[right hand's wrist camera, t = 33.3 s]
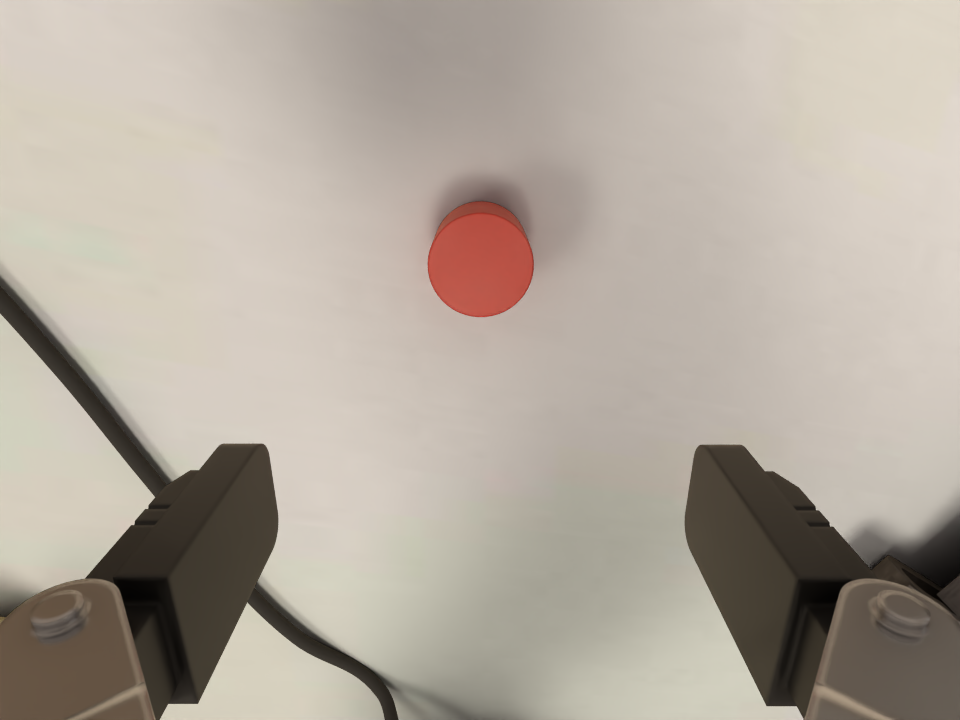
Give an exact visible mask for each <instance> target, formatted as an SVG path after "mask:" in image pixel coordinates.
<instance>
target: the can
mask: <svg viewBox="0 0 960 720" xmlns="http://www.w3.org/2000/svg"><path fill="white" fill-rule="evenodd" d="M533 270H534V260H533V254H532V250H531V247H530V244H529V242H528V239H527V237H526V235H525V232H524V230H523V227H522V226H521V224H520V222H519V221H518V219H517V218H516V217H515V216H514V215H513V214H512V213H511V212H510V211H508V210H507V209H505V208H504V207H502V206H500V205H497V204H495V203H491V202H484V201H477V202H470V203H467V204H464V205H462V206H459V207H458V208H456V209H454V210H453V211H452V212H451V213H449V214H448V215H447V216H446V217H445V219H444V220H443V221H442V223H441V224H440V226H439V228H438V230H437V233H436V235H435V238H434V240H433V243H432V246H431V248H430V252H429V256H428V273H429V278H430V281H431V284H432V286H433V288H434V290H435V292H436V293H437V295H438V296H439V297H440V299H441V300H442V301H443V302H444V303H445V304H446V305H448V306H449V307H450V308H452V309H453V310H455V311H457V312H459V313H462V314H464V315H468V316H474V317H488V316H493V315H497V314H500V313H502V312H504V311H506V310H508V309H510V308H511V307H512V306H514V305H515V304H516V303H517V302H518V301H519V300H520V299H521V298H522V297H523V296H524V294H525V293H526V291H527V289H528V287H529V285H530V283H531V279H532V276H533Z"/></svg>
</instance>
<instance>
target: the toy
mask: <svg viewBox="0 0 960 720" xmlns="http://www.w3.org/2000/svg"><path fill="white" fill-rule="evenodd" d="M871 571H872V572H873V573H874V574H875V575H876V576H877V577H878V579H879V580H885V581H890V582H894V583H897V584H900V585H903V586H906V587H908V588H911V589H913V590H916V591H918V592H920V593H922V594H924V595H925V596H927V597H929V598H930V599H932V600H934V601H935V602H937V603H938V604H939V605H941V606H942V607H944V608H945V609H946V610H947V611H948V612H949V613H950V614H951V615H952V616H953V617H954V618H955V619H956V620H957V621H958V622H959V624H960V575H959V576H958V577H957V578H955V579H954V580H953V581H952V582H951V583H949V584H948V585H947V586H946V587H945V588H944V589H943V588H942V587H940V586H939V585H937V584H935V583H934V582H932V581H930V580H929V579H927V578H926V577H924V576H922V575H921V574H919V573H918V572H916V571H914V570H913V569H911V568H909V567H908V566H906V565H905V564H903V563H901V562H900V561H898V560H897V559H895V558H893V557H891V556H889V555H888V556H886V557H885V558H884V559H883V560H882V561H881V562H880V563H879V564H878V565H876V566H875V567H874V568H873V569H872V570H871Z"/></svg>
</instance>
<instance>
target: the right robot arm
mask: <svg viewBox="0 0 960 720" xmlns="http://www.w3.org/2000/svg"><path fill="white" fill-rule="evenodd" d="M0 314H1V315H2V316H3V317H4V318H5V319H6V320H7V321H8V322H9V323H10V324H11V326H12V327H13V328H14V329H15V330H16V331H17V332H18V333H19V334H20V336H21V337H22V338H23V339H24V340H25V341H26V342H27V343H28V345H29V346H30V347H31V348H32V349H33V350H34V351H35V352H36V354H37V355H38V356H39V357H40V358H41V359H42V360H43V361H44V363H45V364H46V365H47V366H48V367H49V368H50V369H51V371H52V372H53V373H54V374H55V375H56V376H57V377H58V379H59V380H60V381H61V382H62V383H63V384H64V386H65V387H66V388H67V389H68V390H69V392H70V393H71V394H72V395H73V396H74V397H75V399H76V400H77V401H78V402H79V404H80V405H81V406H82V407H83V408H84V410H85V411H86V412H87V413H88V415H89V416H90V417H91V418H92V420H93V421H94V422H95V423H96V425H97V426H98V427H99V428H100V430H101V431H102V432H103V433H104V435H105V436H106V437H107V438H108V440H109V441H110V442H111V443H112V445H113V446H114V447H115V448H116V450H117V451H118V452H119V453H120V455H121V456H122V457H123V458H124V460H125V461H126V462H127V463H128V465H129V466H130V467H131V468H132V469H133V471H134V472H135V473H136V474H137V475H138V477H139V478H140V479H141V480H142V482H143V483H144V484H145V485H146V486H147V488H148V489H149V490H150V491H151V492H152V494H153V495H154V496H155V499H154V500H153V501H152V502H151V503H150V504H149V508H148V509H145V510H144V511H143V512H142V514H141V515H140V516H139V517H138V518H137V519H136V520H135V525H131V526H130V527H129V529H128V530H127V531H126V532H125V533H124V534H123V535H122V537H121V538H120V539H119V540H118V541H117V542H116V544H115V545H114V546H113V547H112V548H111V549H110V550H109V552H108V553H107V554H106V555H105V556H104V557H103V559H102V560H101V561H100V562H99V563H98V564H97V565H96V567H95V568H94V569H93V570H92V571H91V572H90V574H89V575H88V576H87V577H86V578H85V579H81V580H75V581H70V582H66V583H63V584H60V585H57V586H54V587H52V588H49V589H47V590H44V591H42V592H40V593H38V594H36V595H35V596H33V597H31V598H30V599H28V600H26V601H25V602H23V603H22V604H21V605H19V606H18V607H16V608H15V609H14V610H13V611H12V612H11V613H10V614H9V615H8V616H7V617H6V618H5V619H4V620H3V621H2V622H1V624H0V720H160V718H161V716H162V714H163V712H164V710H165V709H166V707H167V705H168V704H198V702H199V700H200V698H201V696H202V694H203V692H204V690H205V688H206V686H207V684H208V682H209V680H210V678H211V676H212V674H213V672H214V670H215V667H216V665H217V663H218V661H219V659H220V657H221V655H222V653H223V651H224V649H225V647H226V645H227V643H228V641H229V639H230V637H231V635H232V632H233V630H234V628H235V626H236V624H237V622H238V620H239V618H240V616H241V614H242V612H243V610H244V608H245V606H246V604H247V602H248V603H249V604H250V605H251V606H252V607H253V608H254V609H255V610H256V611H257V612H258V613H259V614H260V615H261V616H262V617H263V618H264V619H265V620H266V621H267V622H268V623H269V624H270V625H272V626H273V627H274V628H275V629H276V630H277V631H279V632H280V633H281V634H282V635H283V636H284V637H286V638H287V639H288V640H289V641H291V642H292V643H293V644H295V645H296V646H298V647H299V648H300V649H302V650H304V651H305V652H307V653H309V654H311V655H313V656H315V657H317V658H319V659H321V660H323V661H325V662H328V663H330V664H332V665H335V666H337V667H339V668H341V669H343V670H345V671H347V672H349V673H351V674H353V675H354V676H356V677H357V678H359V679H360V680H361V681H362V682H364V683H365V684H366V685H367V686H368V687H369V688H370V689H371V690H372V692H373V693H374V694H375V695H376V697H377V698H378V700H379V701H380V703H381V706H382V709H383V713H384V717H385V720H398V716H397V712H396V708H395V704H394V701H393V698H392V696H391V694H390V692H389V690H388V689H387V687H386V686H385V685H384V683H383V682H382V681H381V680H380V679H379V678H378V677H377V676H376V675H375V674H374V673H373V672H372V671H371V670H369V669H368V668H367V667H365V666H364V665H362V664H361V663H359V662H358V661H356V660H354V659H352V658H350V657H349V656H347V655H345V654H343V653H341V652H339V651H337V650H334V649H332V648H330V647H328V646H326V645H324V644H322V643H320V642H318V641H316V640H314V639H313V638H311V637H309V636H308V635H306V634H305V633H304V632H302V631H301V630H300V629H298V628H297V627H296V626H295V625H293V624H292V623H291V622H290V621H289V620H288V619H286V618H285V617H284V616H283V615H282V614H281V613H280V612H279V611H277V610H276V609H275V608H274V607H273V606H272V605H271V604H270V603H269V602H268V601H267V600H266V599H265V598H264V597H263V596H262V595H261V594H260V593H259V592H258V591H257V590H256V589H255V588H254V587H255V585H256V583H257V581H258V579H259V577H260V575H261V573H262V571H263V569H264V567H265V565H266V563H267V560H268V558H269V556H270V554H271V552H272V550H273V548H274V545H275V542H276V538H277V532H278V510H277V504H276V497H275V490H274V484H273V477H272V470H271V464H270V457H269V452H268V450H267V447H266V446H265V445H264V444H221V445H219V447H218V448H217V449H216V450H215V451H214V452H213V454H212V455H211V456H210V457H209V459H208V460H207V461H206V462H205V464H204V465H203V466H202V467H201V469H200V470H190V471H189V472H187V473H185V474H184V475H182V476H181V477H179V478H178V479H176V480H174V481H173V482H171V483H170V484H168V485H166V484H165V482H164V481H163V480H162V479H161V477H160V476H159V475H158V474H157V472H156V471H155V470H154V469H153V467H152V466H151V465H150V464H149V462H148V461H147V460H146V459H145V458H144V456H143V455H142V454H141V453H140V451H139V450H138V449H137V448H136V446H135V445H134V444H133V442H132V441H131V440H130V439H129V437H128V436H127V435H126V434H125V432H124V431H123V430H122V428H121V427H120V426H119V425H118V423H117V422H116V421H115V419H114V418H113V417H112V416H111V414H110V413H109V412H108V410H107V409H106V408H105V407H104V405H103V404H102V403H101V402H100V400H99V399H98V398H97V397H96V395H95V394H94V393H93V392H92V390H91V389H90V388H89V387H88V386H87V384H86V383H85V382H84V381H83V379H82V378H81V377H80V376H79V375H78V373H77V372H76V371H75V370H74V369H73V368H72V366H71V365H70V364H69V363H68V362H67V361H66V359H65V358H64V357H63V356H62V355H61V354H60V352H59V351H58V350H57V349H56V348H55V347H54V346H53V344H52V343H51V342H50V341H49V340H48V339H47V337H46V336H45V335H44V334H43V333H42V332H41V331H40V329H39V328H38V327H37V326H36V325H35V324H34V323H33V322H32V320H31V319H30V318H29V317H28V316H27V315H26V314H25V313H24V311H23V310H22V309H21V308H20V307H19V306H18V305H17V304H16V303H15V302H14V300H13V299H12V298H11V297H10V296H9V295H8V294H7V293H6V292H5V291H4V290H3V289H2V288H1V287H0ZM685 532H686V539H687V543H688V546H689V549H690V551H691V553H692V555H693V557H694V559H695V561H696V563H697V565H698V567H699V569H700V571H701V573H702V575H703V578H704V580H705V582H706V584H707V586H708V588H709V590H710V592H711V594H712V596H713V598H714V600H715V602H716V604H717V606H718V608H719V610H720V612H721V614H722V616H723V618H724V620H725V622H726V624H727V626H728V628H729V630H730V632H731V634H732V636H733V638H734V641H735V643H736V645H737V647H738V649H739V651H740V653H741V655H742V657H743V659H744V661H745V663H746V665H747V667H748V669H749V671H750V673H751V675H752V677H753V679H754V681H755V683H756V685H757V687H758V689H759V691H760V693H761V695H762V697H763V699H764V701H765V704H766V706H797V707H798V709H799V711H800V713H801V715H802V717H803V718H804V720H960V624H959V622H958V621H957V620H956V619H955V618H954V617H953V616H952V615H951V614H950V613H949V612H948V611H947V610H946V609H945V608H944V607H942V606H941V605H939V604H938V603H937V602H935V601H934V600H932V599H930V598H929V597H927V596H925V595H924V594H922V593H920V592H918V591H916V590H913V589H911V588H908V587H906V586H903V585H900V584H897V583H894V582H890V581H885V580H879V579H878V577H877V576H876V575H875V574H874V573H873V572H872V571H871V569H870V568H869V567H868V566H867V565H866V564H865V563H864V561H863V560H862V559H861V558H860V557H859V556H858V555H857V553H856V552H855V551H854V550H853V549H852V548H851V547H850V545H849V544H848V543H847V542H846V541H845V540H844V539H843V537H842V536H841V535H840V534H839V533H838V532H837V531H836V529H835V528H834V527H830V525H829V521H828V520H827V519H826V518H825V517H824V516H823V515H822V513H821V512H820V511H816V508H815V505H814V504H813V503H812V502H811V501H810V500H809V499H808V497H807V496H806V495H805V494H804V493H803V492H802V491H801V489H800V488H799V487H797V486H795V485H794V484H792V483H791V482H789V481H788V480H786V479H784V478H783V477H781V476H780V475H778V474H776V473H775V472H773V471H764V470H763V469H762V467H761V466H760V465H759V464H758V463H757V461H756V460H755V459H754V458H753V456H752V455H751V454H750V453H749V452H748V450H747V449H746V448H745V447H744V446H742V445H699V446H698V447H697V449H696V451H695V454H694V459H693V466H692V473H691V479H690V486H689V492H688V499H687V505H686V512H685Z"/></svg>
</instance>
